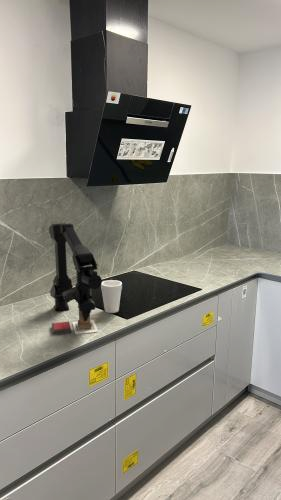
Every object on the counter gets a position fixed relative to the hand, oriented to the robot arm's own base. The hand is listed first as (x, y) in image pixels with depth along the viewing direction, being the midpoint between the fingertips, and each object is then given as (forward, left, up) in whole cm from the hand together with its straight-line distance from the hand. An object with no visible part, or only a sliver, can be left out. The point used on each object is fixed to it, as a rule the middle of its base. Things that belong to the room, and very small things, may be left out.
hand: (84, 318), depth 161 cm
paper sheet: (0, 0, -4) cm, 4 cm away
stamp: (0, 0, -3) cm, 3 cm away
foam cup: (-15, +15, -4) cm, 22 cm away
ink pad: (0, -9, -4) cm, 10 cm away
